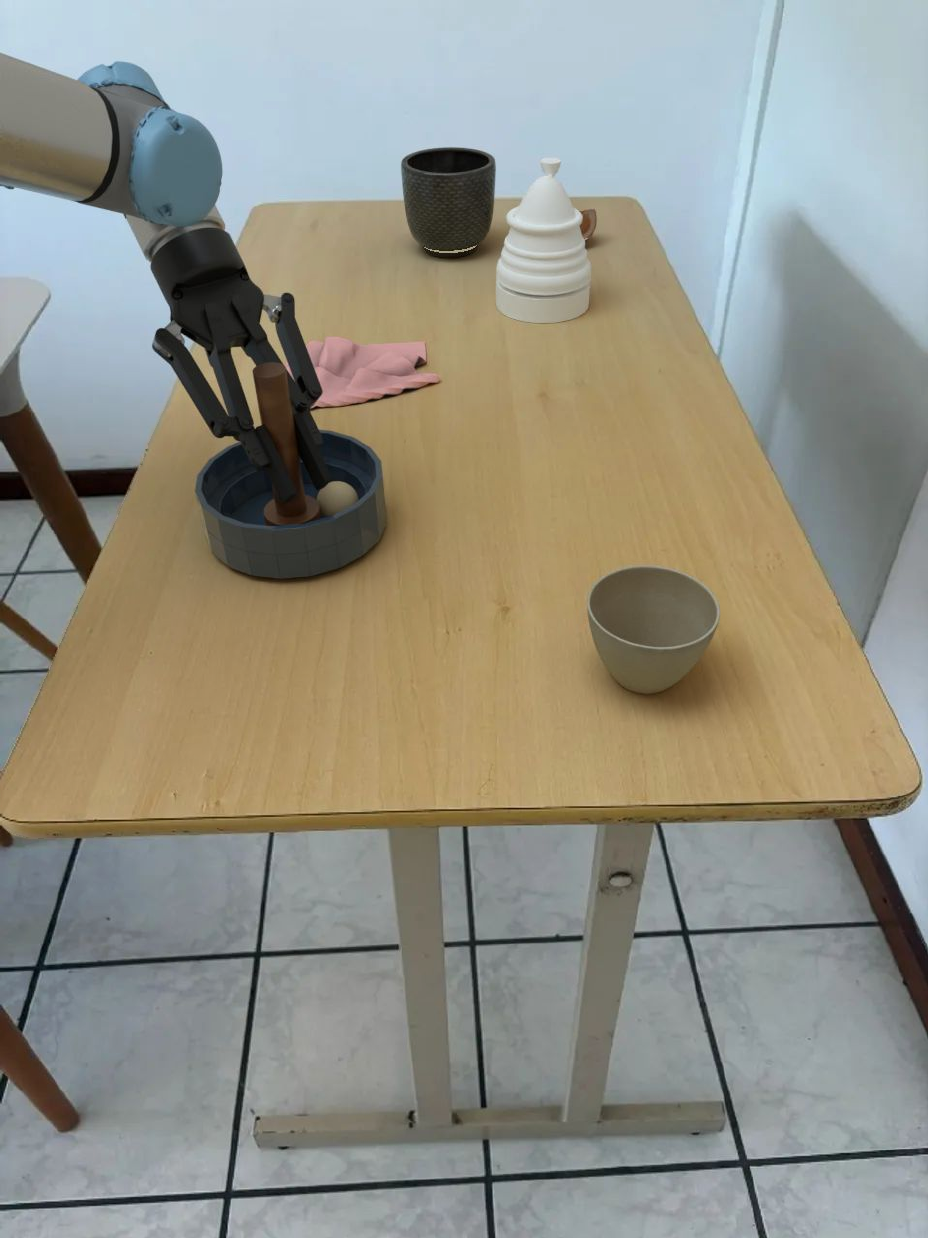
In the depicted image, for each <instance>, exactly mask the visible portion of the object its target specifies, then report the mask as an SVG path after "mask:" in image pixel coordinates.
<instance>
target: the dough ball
mask: <svg viewBox="0 0 928 1238" xmlns="http://www.w3.org/2000/svg"><path fill="white" fill-rule="evenodd" d="M317 501H318V503H319V506H320V513H321V515H322V516H323V517H324V518H327V517H331V516H333V515H335V514H337V513H339V512H341V511H343V510H345V509H347V508H349V507H351V506H353V505H354V504H355V503H356V502H357V501H359V500H358V496H357V493H356V491H355V490H354V489H353V488H352V487H351V486H350V485H349V484H347V483H345V482H341V481H334V482H330V483H328V484H327V485H326V486H325V487H324V488H322V489H321V490H320V491H319V493H318V496H317Z"/></svg>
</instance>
